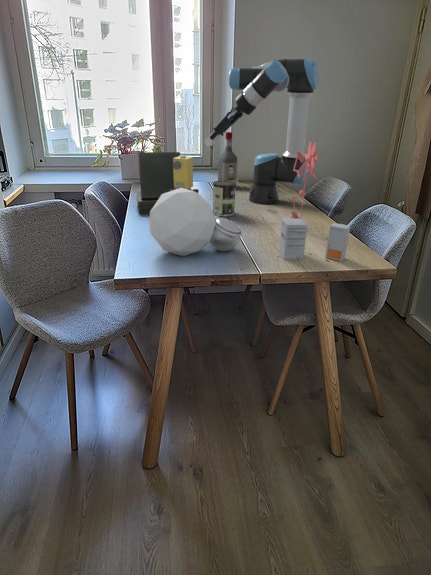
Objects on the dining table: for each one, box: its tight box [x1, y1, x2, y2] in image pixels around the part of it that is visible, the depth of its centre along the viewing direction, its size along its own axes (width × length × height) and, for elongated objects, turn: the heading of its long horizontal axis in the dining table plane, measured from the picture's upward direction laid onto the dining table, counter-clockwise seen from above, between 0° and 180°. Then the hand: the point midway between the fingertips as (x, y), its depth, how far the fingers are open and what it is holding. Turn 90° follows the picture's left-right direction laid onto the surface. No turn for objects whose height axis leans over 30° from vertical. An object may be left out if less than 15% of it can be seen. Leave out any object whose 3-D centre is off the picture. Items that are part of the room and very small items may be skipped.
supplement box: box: [278, 218, 308, 260], centre depth 151 cm, size 7×7×13 cm
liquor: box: [217, 131, 238, 188], centre depth 241 cm, size 9×9×30 cm
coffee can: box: [212, 180, 237, 217], centre depth 197 cm, size 10×10×14 cm
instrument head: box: [173, 154, 194, 189], centre depth 177 cm, size 6×9×13 cm, turn 159°
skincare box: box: [325, 222, 351, 262], centre depth 150 cm, size 6×4×12 cm
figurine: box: [289, 141, 323, 233], centre depth 175 cm, size 15×26×35 cm, turn 6°
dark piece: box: [136, 151, 181, 215], centre depth 201 cm, size 23×20×25 cm
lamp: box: [148, 188, 242, 257], centre depth 151 cm, size 22×34×24 cm, turn 100°
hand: (206, 144), depth 169 cm, fingers closed
